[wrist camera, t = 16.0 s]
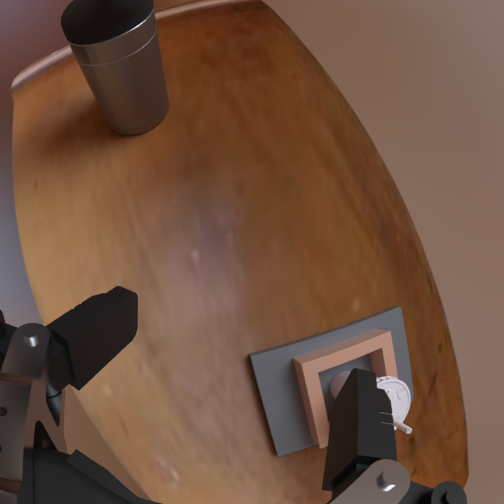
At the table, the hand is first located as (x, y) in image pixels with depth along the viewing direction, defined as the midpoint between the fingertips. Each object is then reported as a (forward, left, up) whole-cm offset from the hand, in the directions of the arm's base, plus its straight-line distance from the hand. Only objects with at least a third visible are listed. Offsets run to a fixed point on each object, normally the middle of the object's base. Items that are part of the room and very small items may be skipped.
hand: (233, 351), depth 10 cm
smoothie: (+10, +14, -22) cm, 28 cm away
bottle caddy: (+10, +14, -23) cm, 29 cm away
